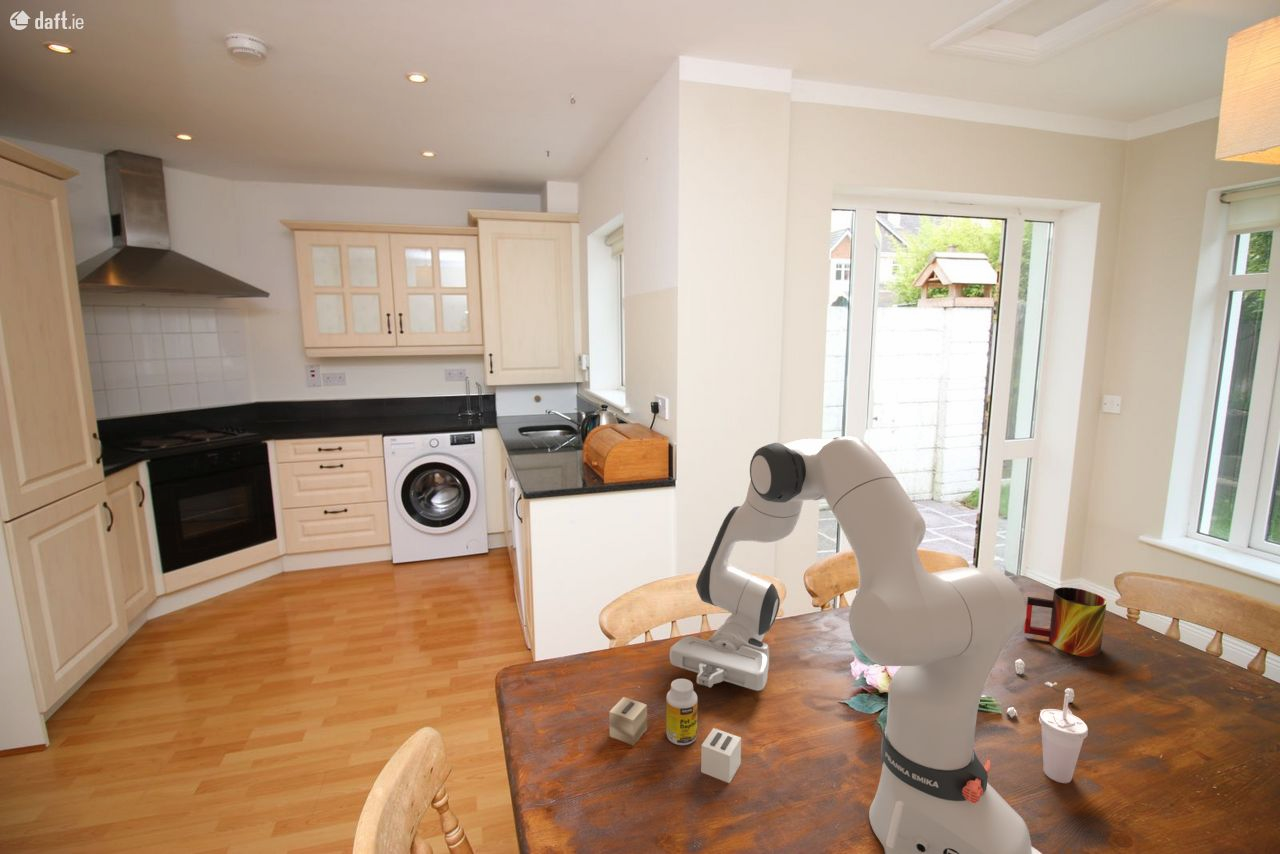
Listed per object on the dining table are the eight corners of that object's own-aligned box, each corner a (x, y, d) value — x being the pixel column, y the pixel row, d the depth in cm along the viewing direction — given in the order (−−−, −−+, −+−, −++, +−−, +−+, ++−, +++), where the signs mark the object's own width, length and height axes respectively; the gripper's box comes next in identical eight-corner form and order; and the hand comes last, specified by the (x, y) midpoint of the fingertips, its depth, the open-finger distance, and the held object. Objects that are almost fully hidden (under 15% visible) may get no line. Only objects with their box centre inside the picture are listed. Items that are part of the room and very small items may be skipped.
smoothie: (1085, 774, 96) (1094, 696, 94) (1077, 796, 91) (1087, 714, 89) (1039, 754, 100) (1047, 679, 98) (1029, 774, 96) (1037, 696, 94)
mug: (1021, 635, 139) (1026, 588, 138) (1078, 634, 140) (1083, 586, 138) (1051, 658, 130) (1056, 607, 128) (1111, 656, 130) (1117, 605, 129)
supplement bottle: (679, 751, 102) (679, 697, 100) (660, 734, 107) (659, 682, 105) (703, 739, 105) (704, 686, 104) (684, 722, 110) (684, 672, 108)
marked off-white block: (740, 764, 99) (741, 736, 98) (729, 783, 95) (729, 754, 94) (713, 753, 102) (713, 726, 101) (701, 772, 97) (701, 744, 96)
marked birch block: (647, 729, 108) (646, 703, 107) (633, 746, 104) (633, 719, 103) (623, 721, 110) (623, 695, 110) (609, 736, 106) (609, 710, 105)
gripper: (685, 623, 130) (656, 653, 118) (776, 647, 120) (753, 682, 108) (685, 649, 131) (656, 681, 119) (775, 675, 121) (753, 713, 109)
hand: (703, 682), depth 113 cm, fingers closed
